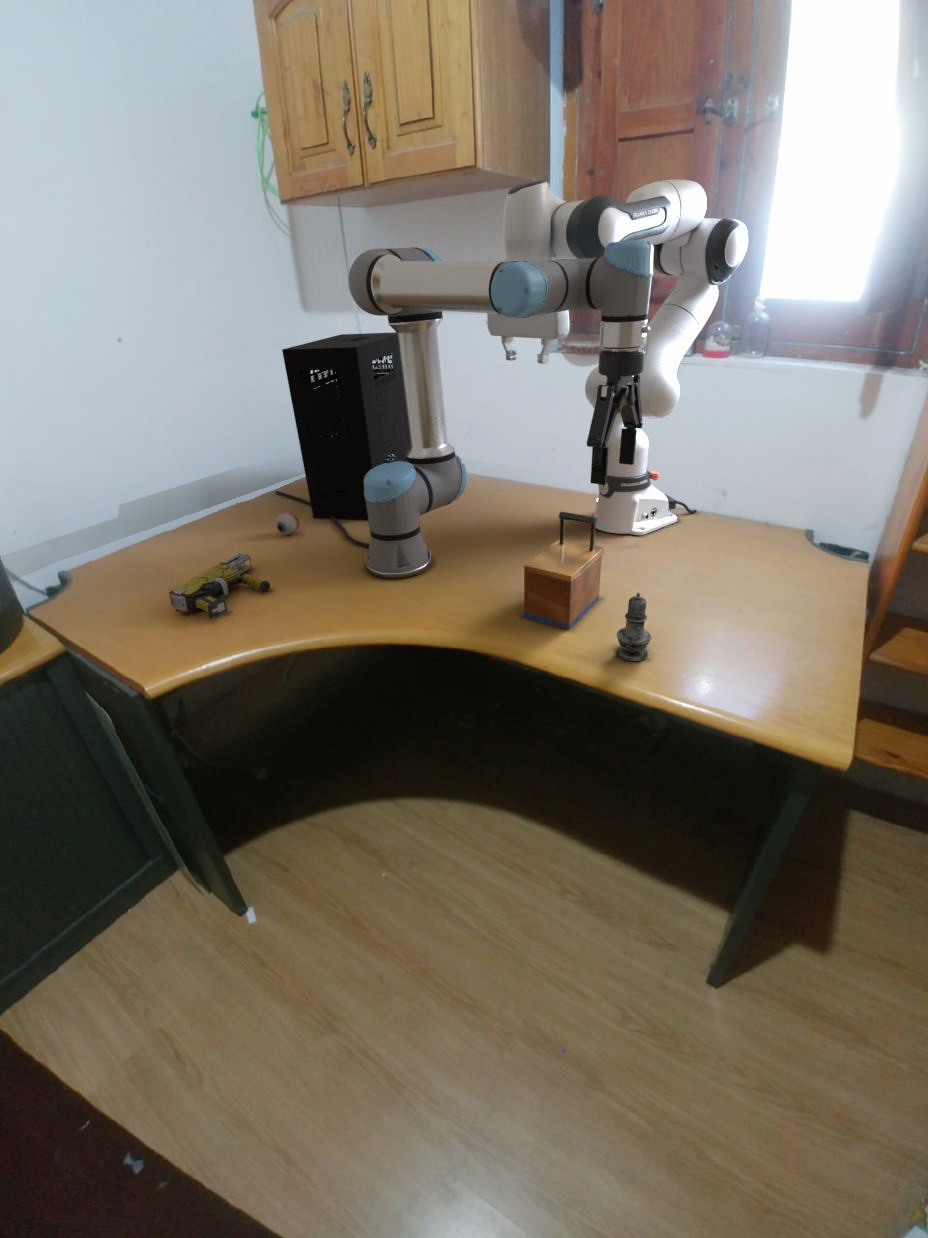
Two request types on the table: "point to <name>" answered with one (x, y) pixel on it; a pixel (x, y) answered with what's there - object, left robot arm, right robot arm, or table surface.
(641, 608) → the grey chess piece
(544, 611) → the chest
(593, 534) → the lid
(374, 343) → the black computer case
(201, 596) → the toy gun
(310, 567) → the table surface
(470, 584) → the table surface
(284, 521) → the eyeball
